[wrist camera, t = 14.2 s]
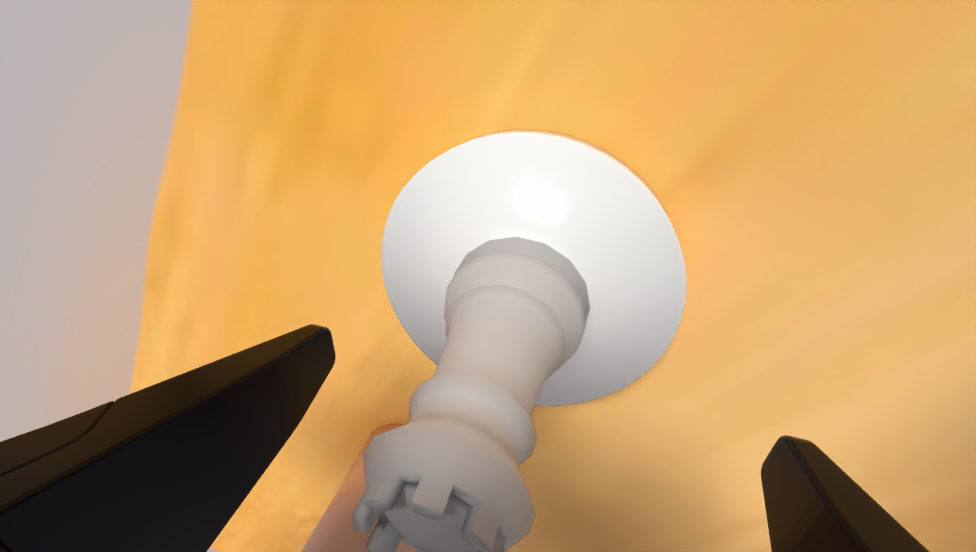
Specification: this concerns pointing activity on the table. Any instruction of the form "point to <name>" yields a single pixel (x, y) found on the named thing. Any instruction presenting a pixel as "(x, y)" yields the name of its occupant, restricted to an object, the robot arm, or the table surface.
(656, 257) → the coaster
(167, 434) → the robot arm
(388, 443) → the rook chess piece
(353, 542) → the cup
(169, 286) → the table surface
